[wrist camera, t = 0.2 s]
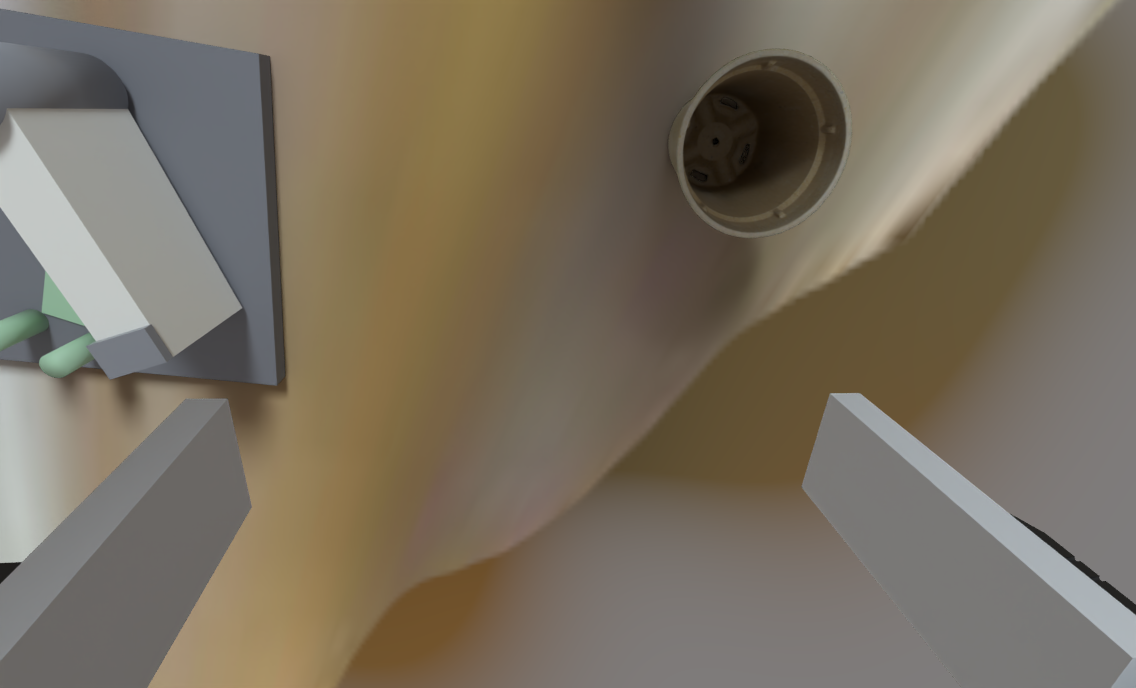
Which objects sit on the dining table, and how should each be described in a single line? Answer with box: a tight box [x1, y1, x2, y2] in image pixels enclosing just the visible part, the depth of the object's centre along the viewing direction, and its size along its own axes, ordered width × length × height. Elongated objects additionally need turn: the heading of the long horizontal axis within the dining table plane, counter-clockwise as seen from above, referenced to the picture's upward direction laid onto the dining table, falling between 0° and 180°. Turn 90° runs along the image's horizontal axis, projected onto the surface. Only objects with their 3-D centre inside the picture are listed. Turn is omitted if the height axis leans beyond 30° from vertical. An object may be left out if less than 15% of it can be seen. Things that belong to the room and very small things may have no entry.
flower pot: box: [668, 49, 852, 238], centre depth 32 cm, size 9×9×9 cm
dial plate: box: [0, 9, 285, 385], centre depth 32 cm, size 22×21×6 cm
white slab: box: [0, 42, 242, 379], centre depth 29 cm, size 16×4×9 cm, turn 16°
